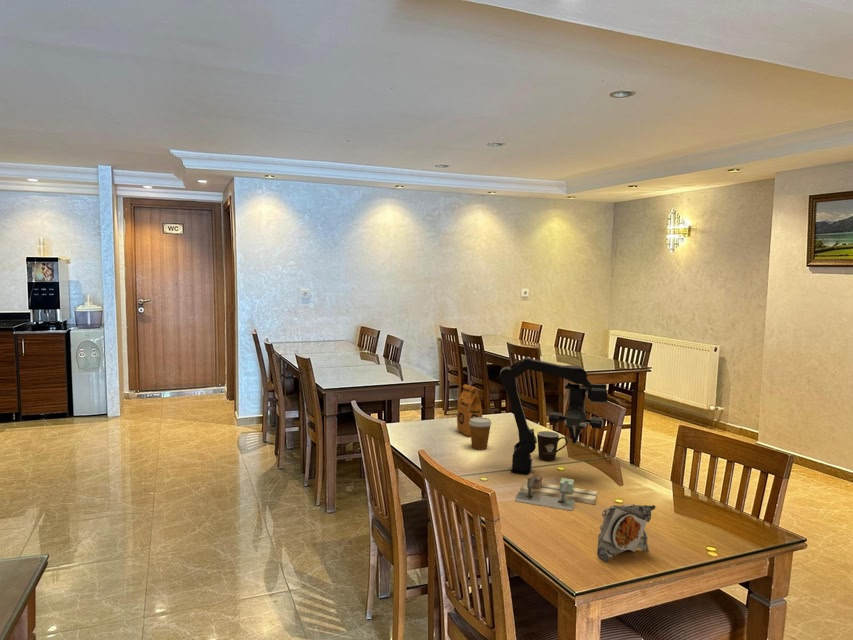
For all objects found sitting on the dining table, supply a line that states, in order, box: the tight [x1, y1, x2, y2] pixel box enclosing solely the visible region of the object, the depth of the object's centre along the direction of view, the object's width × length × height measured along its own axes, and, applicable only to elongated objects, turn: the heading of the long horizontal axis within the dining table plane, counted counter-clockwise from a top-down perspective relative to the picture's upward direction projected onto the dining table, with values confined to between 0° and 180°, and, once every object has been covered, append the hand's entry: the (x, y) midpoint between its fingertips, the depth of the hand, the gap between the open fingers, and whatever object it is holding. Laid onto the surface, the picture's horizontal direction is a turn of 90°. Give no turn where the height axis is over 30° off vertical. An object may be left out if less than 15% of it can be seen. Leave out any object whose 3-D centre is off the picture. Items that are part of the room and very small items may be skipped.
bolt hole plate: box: [514, 491, 576, 512], centre depth 180 cm, size 18×6×1 cm, turn 69°
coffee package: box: [456, 383, 483, 438], centre depth 256 cm, size 10×12×22 cm
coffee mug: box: [536, 430, 569, 462], centre depth 223 cm, size 12×9×10 cm
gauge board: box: [519, 472, 598, 505], centre depth 184 cm, size 24×14×5 cm, turn 69°
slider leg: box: [559, 477, 575, 501], centre depth 182 cm, size 4×12×3 cm, turn 159°
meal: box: [596, 503, 656, 564], centre depth 146 cm, size 15×4×13 cm, turn 113°
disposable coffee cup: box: [469, 416, 492, 451], centre depth 235 cm, size 10×10×12 cm
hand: (574, 443), depth 204 cm, fingers closed
